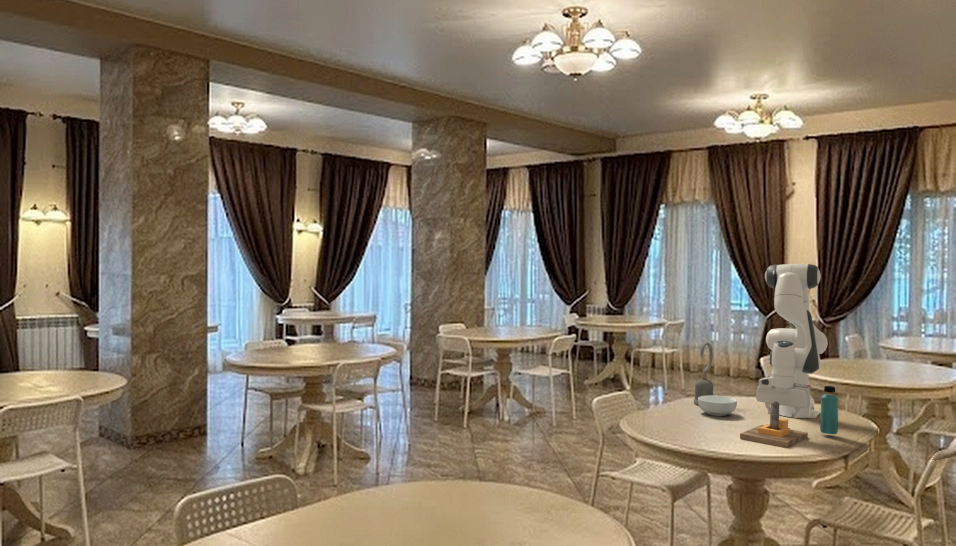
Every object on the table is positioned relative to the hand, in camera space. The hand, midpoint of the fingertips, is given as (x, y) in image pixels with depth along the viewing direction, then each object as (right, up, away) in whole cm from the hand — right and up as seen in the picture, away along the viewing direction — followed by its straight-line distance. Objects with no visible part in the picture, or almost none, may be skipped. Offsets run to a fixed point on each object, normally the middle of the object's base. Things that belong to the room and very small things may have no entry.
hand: (782, 416), depth 288 cm
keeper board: (-6, -8, -6) cm, 11 cm away
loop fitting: (-4, -5, -3) cm, 7 cm away
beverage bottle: (+18, -8, -1) cm, 20 cm away
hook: (-13, -6, +58) cm, 60 cm away
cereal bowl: (-14, -7, +36) cm, 40 cm away
